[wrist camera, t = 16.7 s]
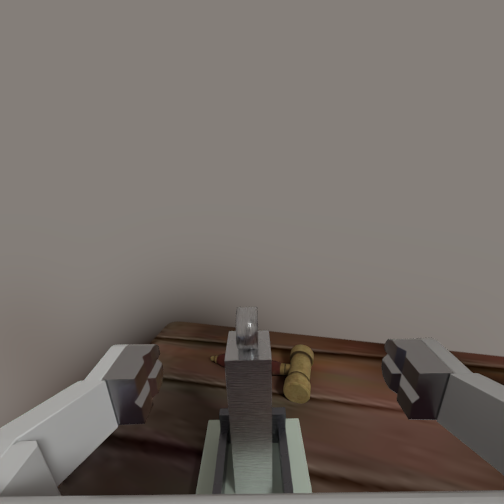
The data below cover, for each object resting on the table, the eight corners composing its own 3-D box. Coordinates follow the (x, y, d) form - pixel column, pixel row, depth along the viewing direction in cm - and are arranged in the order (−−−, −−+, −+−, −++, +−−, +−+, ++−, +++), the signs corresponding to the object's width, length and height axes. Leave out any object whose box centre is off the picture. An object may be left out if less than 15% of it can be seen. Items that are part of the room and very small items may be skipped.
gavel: (197, 366, 47) (219, 334, 56) (201, 385, 48) (221, 351, 57) (309, 385, 40) (313, 345, 49) (310, 406, 42) (313, 363, 51)
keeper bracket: (322, 560, 25) (326, 520, 23) (186, 562, 25) (177, 522, 23) (298, 425, 38) (299, 391, 36) (209, 426, 39) (205, 393, 36)
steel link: (272, 494, 29) (271, 323, 21) (235, 494, 29) (221, 324, 22) (270, 453, 33) (268, 298, 26) (237, 454, 33) (226, 299, 26)
